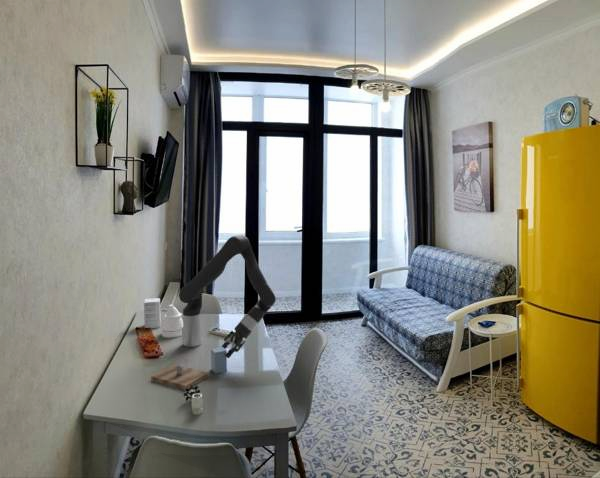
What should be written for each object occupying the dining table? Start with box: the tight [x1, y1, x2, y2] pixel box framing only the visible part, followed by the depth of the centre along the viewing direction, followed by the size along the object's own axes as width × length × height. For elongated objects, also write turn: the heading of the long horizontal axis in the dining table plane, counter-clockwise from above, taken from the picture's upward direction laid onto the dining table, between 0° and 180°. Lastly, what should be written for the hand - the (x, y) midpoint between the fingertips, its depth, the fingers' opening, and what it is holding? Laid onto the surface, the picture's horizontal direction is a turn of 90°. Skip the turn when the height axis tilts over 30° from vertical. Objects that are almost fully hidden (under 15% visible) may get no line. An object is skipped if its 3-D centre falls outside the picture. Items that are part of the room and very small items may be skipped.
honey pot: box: [161, 304, 183, 339], centre depth 232 cm, size 13×13×18 cm
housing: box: [210, 346, 228, 374], centre depth 182 cm, size 6×6×10 cm
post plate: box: [150, 364, 209, 391], centre depth 174 cm, size 20×14×6 cm
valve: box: [183, 385, 204, 415], centre depth 150 cm, size 7×7×12 cm
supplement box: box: [143, 297, 162, 329], centre depth 246 cm, size 10×9×17 cm
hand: (223, 353), depth 183 cm, fingers open, 8 cm apart
